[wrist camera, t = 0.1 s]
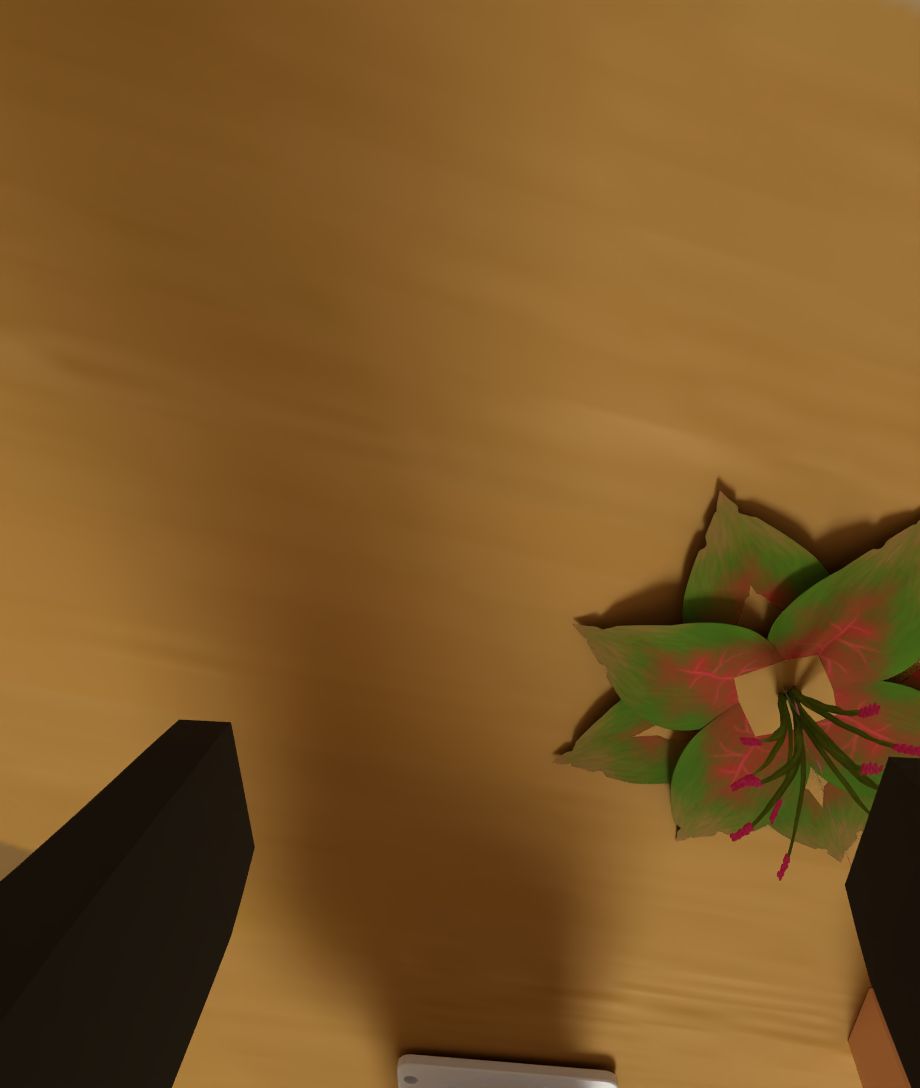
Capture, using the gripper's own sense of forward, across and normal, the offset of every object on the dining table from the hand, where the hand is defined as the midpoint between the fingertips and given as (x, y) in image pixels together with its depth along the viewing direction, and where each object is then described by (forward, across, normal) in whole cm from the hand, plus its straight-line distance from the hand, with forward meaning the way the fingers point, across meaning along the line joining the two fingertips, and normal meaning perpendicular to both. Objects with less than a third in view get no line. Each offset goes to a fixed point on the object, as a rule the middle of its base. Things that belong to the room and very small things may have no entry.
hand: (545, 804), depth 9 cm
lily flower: (+11, -6, +6) cm, 14 cm away
